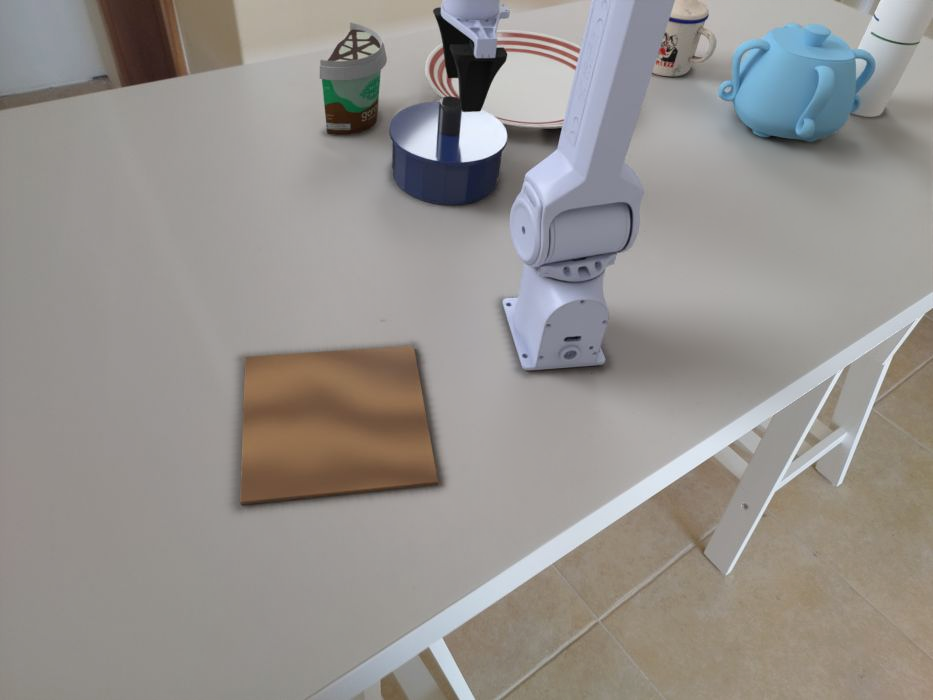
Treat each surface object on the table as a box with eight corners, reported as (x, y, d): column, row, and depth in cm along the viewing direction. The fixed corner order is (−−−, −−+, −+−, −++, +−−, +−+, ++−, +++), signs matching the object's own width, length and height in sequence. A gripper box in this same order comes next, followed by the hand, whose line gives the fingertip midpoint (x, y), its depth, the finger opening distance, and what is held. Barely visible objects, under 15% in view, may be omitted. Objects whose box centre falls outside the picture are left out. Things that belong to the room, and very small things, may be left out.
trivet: (437, 484, 58) (438, 481, 58) (240, 504, 55) (239, 502, 55) (413, 348, 68) (413, 345, 68) (245, 359, 65) (245, 356, 65)
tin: (507, 203, 86) (513, 162, 82) (399, 206, 83) (400, 165, 79) (486, 145, 94) (490, 106, 90) (387, 147, 92) (388, 107, 88)
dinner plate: (624, 155, 95) (630, 132, 93) (413, 132, 95) (414, 108, 92) (608, 62, 114) (613, 40, 112) (433, 42, 114) (435, 20, 112)
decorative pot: (789, 166, 97) (836, 66, 87) (697, 111, 106) (731, 14, 96) (858, 136, 105) (908, 41, 95) (767, 87, 113) (805, -5, 103)
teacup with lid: (622, 61, 115) (641, -17, 107) (653, 46, 120) (674, -29, 112) (687, 91, 110) (713, 11, 101) (718, 74, 115) (744, -3, 106)
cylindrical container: (872, 95, 114) (964, -84, 96) (889, 118, 109) (990, -67, 91) (827, 91, 114) (911, -90, 96) (843, 114, 109) (934, -72, 91)
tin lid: (518, 170, 82) (523, 132, 79) (396, 172, 79) (396, 134, 76) (493, 109, 91) (497, 73, 88) (383, 110, 89) (383, 73, 85)
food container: (370, 148, 91) (370, 71, 84) (323, 139, 92) (318, 61, 85) (397, 102, 100) (398, 28, 93) (353, 94, 100) (351, 20, 93)
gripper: (534, -9, 68) (515, 125, 78) (496, -63, 78) (483, 62, 87) (460, -10, 66) (449, 127, 76) (430, -64, 76) (424, 63, 86)
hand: (463, 93), depth 82 cm, fingers open, 7 cm apart
